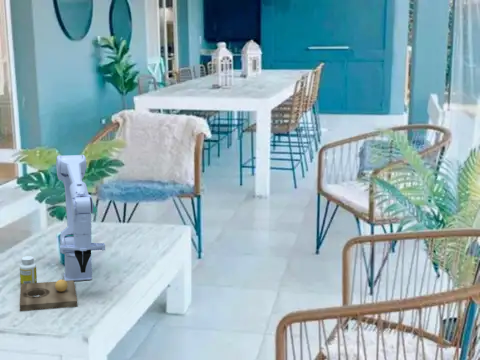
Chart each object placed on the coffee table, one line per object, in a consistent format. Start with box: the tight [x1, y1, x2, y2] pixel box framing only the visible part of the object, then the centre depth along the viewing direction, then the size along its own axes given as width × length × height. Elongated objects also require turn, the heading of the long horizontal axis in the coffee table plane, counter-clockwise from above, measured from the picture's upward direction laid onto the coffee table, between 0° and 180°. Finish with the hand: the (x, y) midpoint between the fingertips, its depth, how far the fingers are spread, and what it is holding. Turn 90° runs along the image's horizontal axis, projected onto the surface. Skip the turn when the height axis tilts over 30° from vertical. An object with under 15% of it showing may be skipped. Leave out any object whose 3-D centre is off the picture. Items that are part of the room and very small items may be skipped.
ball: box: [55, 279, 68, 292], centre depth 217 cm, size 4×4×4 cm
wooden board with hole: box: [19, 280, 78, 312], centre depth 216 cm, size 18×18×2 cm
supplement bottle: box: [19, 255, 38, 285], centre depth 226 cm, size 5×5×10 cm
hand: (82, 271), depth 218 cm, fingers closed
